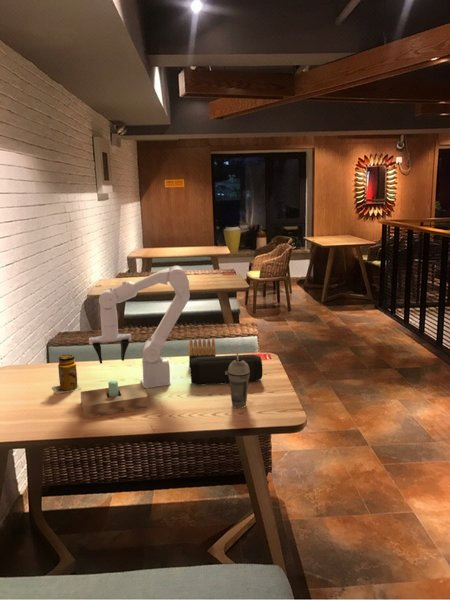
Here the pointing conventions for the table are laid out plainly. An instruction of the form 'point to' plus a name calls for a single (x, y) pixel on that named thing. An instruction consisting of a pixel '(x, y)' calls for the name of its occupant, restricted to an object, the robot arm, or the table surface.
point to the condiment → (67, 375)
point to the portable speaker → (222, 368)
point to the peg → (113, 388)
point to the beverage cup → (238, 381)
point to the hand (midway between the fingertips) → (111, 361)
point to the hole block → (113, 400)
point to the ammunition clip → (201, 349)
